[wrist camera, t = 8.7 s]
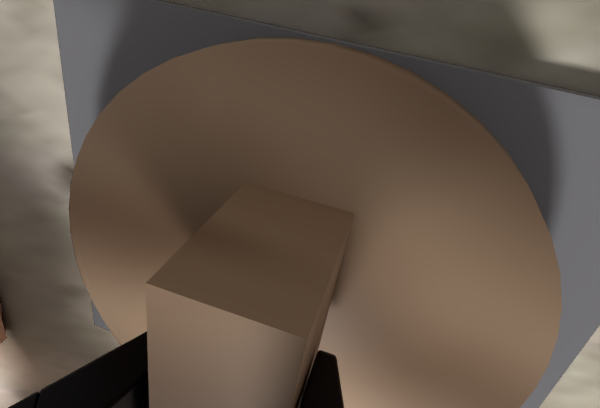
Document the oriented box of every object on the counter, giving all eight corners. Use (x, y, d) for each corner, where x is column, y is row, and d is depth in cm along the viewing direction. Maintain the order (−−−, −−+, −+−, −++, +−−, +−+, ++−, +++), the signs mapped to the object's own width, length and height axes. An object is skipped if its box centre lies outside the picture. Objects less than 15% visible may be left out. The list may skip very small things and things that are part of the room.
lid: (444, 492, 13) (447, 699, 9) (106, 359, 15) (-6, 484, 11) (683, 118, 7) (974, 273, 3) (67, -16, 9) (-199, -19, 5)
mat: (729, 125, 8) (742, 131, 8) (487, 462, 14) (488, 474, 14) (62, -22, 11) (50, -22, 10) (101, 317, 17) (94, 324, 16)
